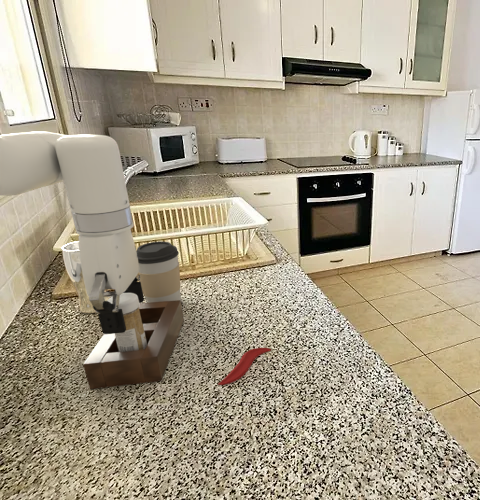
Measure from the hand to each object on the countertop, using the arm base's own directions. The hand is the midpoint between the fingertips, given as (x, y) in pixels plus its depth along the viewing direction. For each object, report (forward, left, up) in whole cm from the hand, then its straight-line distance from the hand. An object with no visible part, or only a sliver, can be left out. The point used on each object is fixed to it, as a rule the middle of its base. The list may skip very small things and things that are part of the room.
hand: (125, 316), depth 63 cm
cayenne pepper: (+19, -4, -10) cm, 22 cm away
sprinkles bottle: (0, 0, -10) cm, 10 cm away
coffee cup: (0, +21, -10) cm, 23 cm away
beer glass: (-15, +23, -10) cm, 29 cm away
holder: (0, +4, -10) cm, 11 cm away
